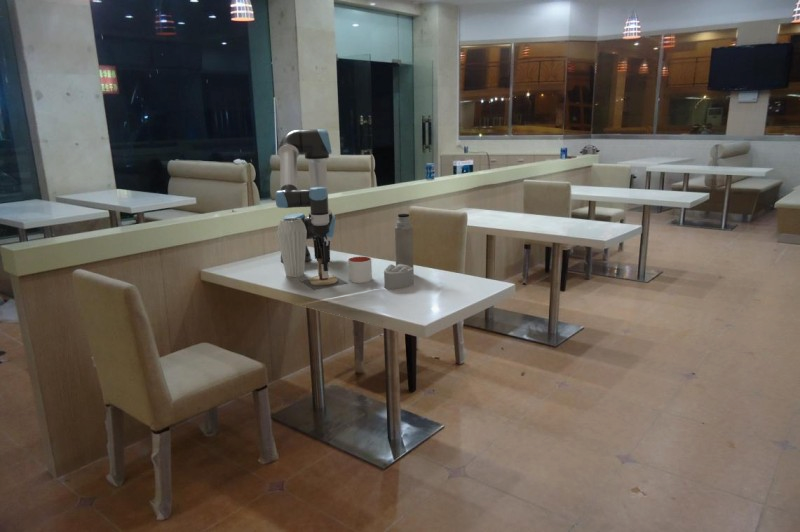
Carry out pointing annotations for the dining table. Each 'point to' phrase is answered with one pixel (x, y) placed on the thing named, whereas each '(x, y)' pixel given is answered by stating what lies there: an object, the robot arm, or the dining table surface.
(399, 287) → the lumpy-topped squat cylinder
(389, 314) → the dining table surface
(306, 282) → the mat
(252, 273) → the dining table surface
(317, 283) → the lid
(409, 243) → the thermos bottle
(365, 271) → the cup
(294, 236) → the vase
